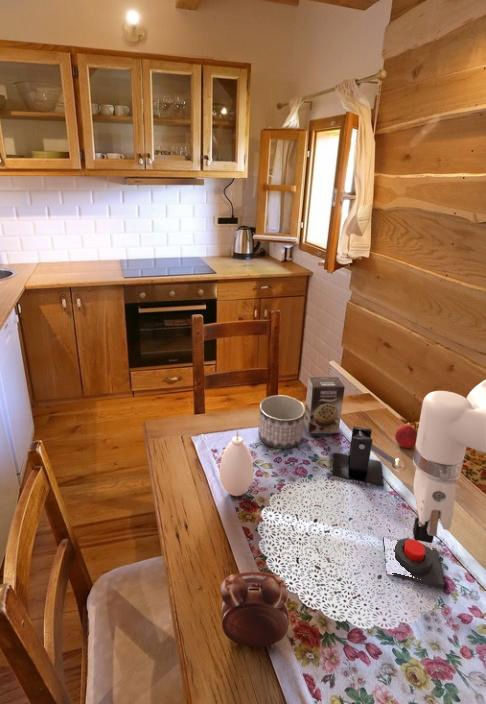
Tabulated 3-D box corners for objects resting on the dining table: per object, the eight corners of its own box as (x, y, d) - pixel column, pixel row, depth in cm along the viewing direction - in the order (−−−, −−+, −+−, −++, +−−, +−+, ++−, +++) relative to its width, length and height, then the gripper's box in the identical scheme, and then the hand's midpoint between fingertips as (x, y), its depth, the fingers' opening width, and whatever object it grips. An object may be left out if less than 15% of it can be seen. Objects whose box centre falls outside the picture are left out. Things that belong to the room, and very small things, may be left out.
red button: (422, 548, 81) (423, 541, 80) (425, 564, 77) (426, 557, 77) (402, 543, 82) (404, 537, 81) (404, 559, 78) (406, 552, 78)
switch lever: (399, 468, 103) (407, 461, 101) (400, 477, 100) (409, 469, 98) (352, 436, 103) (360, 428, 102) (352, 444, 100) (361, 436, 99)
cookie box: (308, 435, 118) (313, 387, 113) (303, 422, 124) (307, 376, 119) (339, 435, 119) (345, 387, 113) (332, 422, 125) (338, 375, 119)
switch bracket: (380, 464, 107) (386, 427, 103) (382, 489, 99) (390, 449, 95) (333, 456, 110) (337, 419, 106) (331, 478, 102) (336, 439, 98)
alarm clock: (283, 623, 70) (289, 560, 64) (287, 654, 65) (293, 589, 60) (220, 620, 70) (221, 557, 65) (219, 651, 66) (220, 586, 60)
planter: (292, 458, 109) (295, 425, 106) (250, 442, 115) (251, 411, 112) (308, 433, 119) (311, 403, 116) (269, 420, 126) (271, 391, 122)
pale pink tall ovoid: (258, 489, 99) (261, 426, 92) (241, 510, 93) (243, 444, 86) (231, 476, 103) (232, 415, 96) (213, 495, 97) (213, 432, 90)
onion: (420, 451, 112) (425, 427, 109) (404, 456, 110) (409, 432, 107) (404, 439, 117) (409, 415, 114) (388, 443, 115) (393, 420, 112)
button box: (435, 552, 83) (438, 541, 82) (443, 589, 75) (446, 578, 74) (382, 540, 85) (385, 529, 84) (386, 574, 78) (388, 563, 77)
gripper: (473, 494, 64) (453, 578, 70) (451, 437, 77) (436, 512, 83) (420, 485, 66) (405, 567, 72) (408, 431, 79) (396, 505, 85)
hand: (422, 537), depth 78 cm, fingers closed
